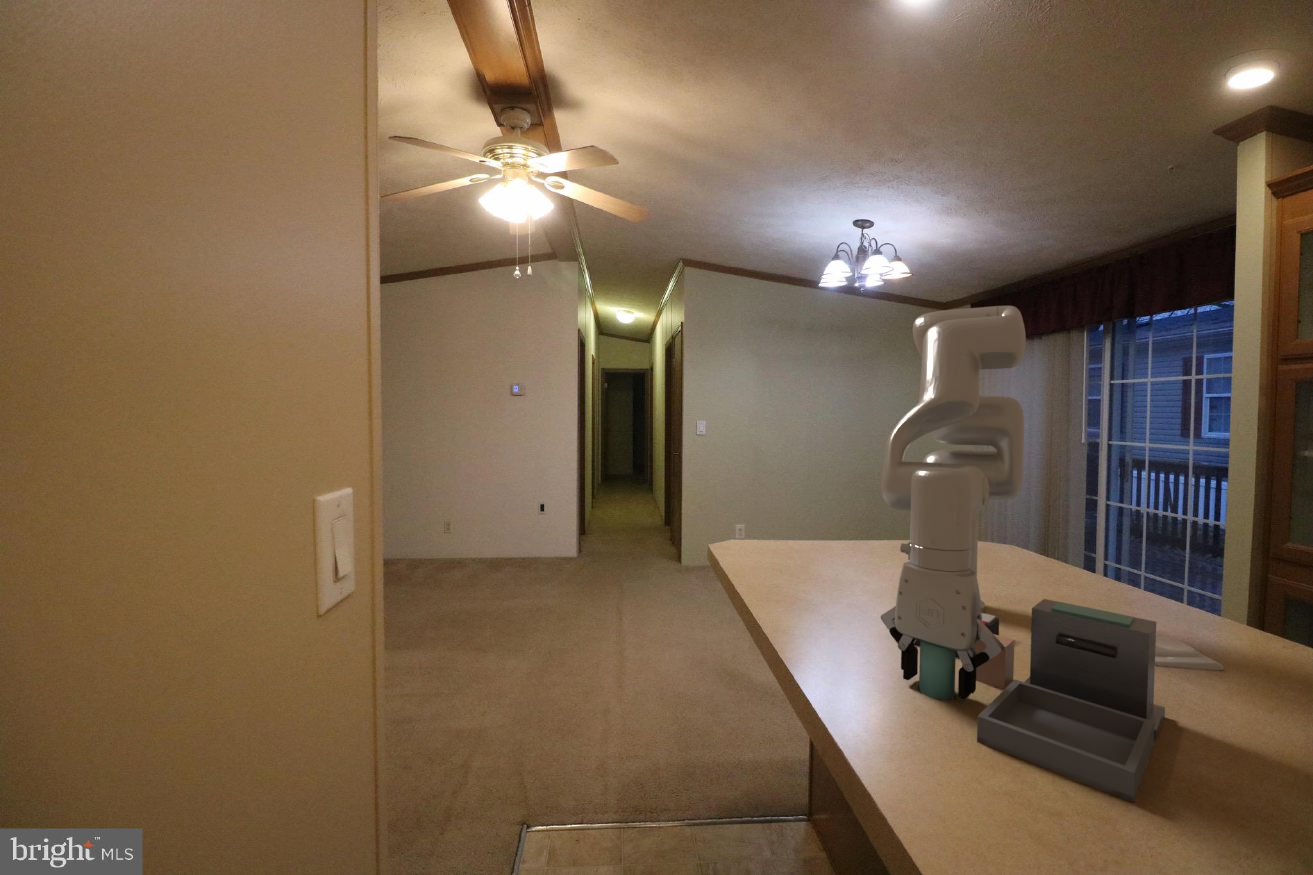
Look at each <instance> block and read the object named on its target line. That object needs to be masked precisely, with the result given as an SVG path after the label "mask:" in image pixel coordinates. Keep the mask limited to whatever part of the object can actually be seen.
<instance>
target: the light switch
mask: <svg viewBox="0 0 1313 875" xmlns="http://www.w3.org/2000/svg"><path fill="white" fill-rule="evenodd" d="M1155 665H1158V666H1157V667H1166V666H1167V667H1168V668H1179V667H1180V668H1179V669H1194V670H1204V669H1209V671H1211V670H1213V671H1224V665H1223V664H1222V663H1220V662H1218V661H1216V660H1214V659H1212V658H1210V657H1209V656H1206V655H1205V654H1203V653H1201V652H1199V651H1198V650H1196V649H1194V648H1193V647H1192V646H1189V645H1188V644H1185V643H1184V642H1181V641H1180V640H1178V639H1175V638H1174V637H1171V636H1169V635H1156V647H1155ZM1167 667H1166V668H1167Z"/></svg>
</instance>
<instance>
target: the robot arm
mask: <svg viewBox="0 0 1313 875" xmlns="http://www.w3.org/2000/svg"><path fill="white" fill-rule="evenodd" d="M912 336H913V340H914V343H915V346H916V349H917V351H918V353H919V355H920V357H921V372H920V386H919V399H918V402H917V404H915V406H914V407H912V408H911V409H910V410H908V411H907V412H906V413H905V414H904V415H903V417H901V418H900V419H899V421H898V422H897V424H896V425H895V426H894V427H893V428H892V430H891V431H890V434H889V436H888V438H887V440H886V443H885V448H884V456H883V465H882V474H881V476H882V477H881V492H882V493H881V494H882V498H883V501H884V502H885V503H886V505H887V506H889V507H891V508H892V509H895V510H899V511H906V512H907V511H908V512H910V520H909V521H910V523H909V524H910V527H909V528H910V530H909V533H910V535H909V541H908V542H907V543H903V542H902V543H901V544H900V546H899V547H900V550H899V551H900V553H904V554H906V555H907V560H908V561H906V562H904V563H903V564H902V567H901V571H900V576H899V580H898V581H899V582H898V585H897V586H898V587H897V593H896V602H895V606H893V607H892V608H890V609H889V610H887V611H886V612H884V613H883V614H881V615H880V620H881V621H882V623H883V625H884V626H885V628H886V629H887V630H888V631H889V634H890V636H891V637H892V638H893V639H894V641H895V642H896V644H897V648H898V649H899V650H900V651H901V652H900V656H901V657H900V669H901V670H902V671H903V672H902V676H903V677H902V678H903V680H906V681H909V680H912V679H913V678H914V677H915V676H917V675H918V666H919V665H918V662H919V661H918V660H919V649H918V646H916V645H915V644H914V643H915V641H916V640H917V639H918V640H921V641H925V642H928V643H931V644H935V645H938V646H942V647H945V648H949V649H953V650H957V653H958V655H959V658H958V659H959V660H960V662H961V664H962V665H961V667H960V668H959V669H958V682H957V685H958V686H957V688H958V689H957V697H958V698H959V699H960V700H963V701H965V700H966V699H967V698H968V697H970V695H971V694H974V693H975V692H976V689H977V680H976V668H977V667H979V666H981V665H982V664H984V663H986V662H987V661H989V660H990V659H992V658H993V657H995V656H996V655H998V654H999V653H1001V652H1002V651H1003V650H1004V645H1003V644H1002V643H1001V642H1000V641H999V640H998V639H997V638H996V637H995V636H994V634H993V633H992V632H991V631H990V630H989V629H988V628H987V627H986V626H985V625H984V624H983V623H982V613H984V612H985V610H986V604H985V602H984V601H983V600H982V599H981V594H980V588H979V581H978V550H979V549H978V546H979V544H978V543H979V522H978V519H977V515H976V514H977V513H980V511H981V510H982V509H983V507H984V506H986V505H987V503H988V501H989V500H991V501H1009V500H1010V501H1011V500H1014V499H1016V498H1018V496H1019V494H1020V493H1021V491H1022V486H1023V475H1024V474H1023V472H1024V447H1025V446H1024V443H1025V441H1024V440H1025V418H1024V417H1025V416H1024V410H1023V408H1022V405H1021V403H1020V402H1019V401H1018V400H1017V399H1016V398H1014V397H1011V396H1004V395H1003V396H1001V395H1000V396H998V395H997V396H996V395H995V396H994V395H993V396H990V395H989V396H981V394H980V370H1001V369H1003V370H1004V369H1012V368H1015V367H1017V366H1019V365H1020V364H1021V362H1022V361H1023V358H1024V355H1025V351H1026V345H1027V344H1026V343H1027V342H1026V341H1027V339H1026V338H1027V337H1026V328H1025V323H1024V319H1023V316H1022V313H1021V311H1020V310H1019V309H1018V308H1017V307H1016V306H1014V305H994V306H993V305H992V306H984V307H971V308H969V307H967V308H955V309H945V310H938V311H931V312H927V313H924V314H921V315H920V316H918V317H917V318H916V319H915V320H914V322H913V325H912ZM927 434H930V435H931V437H932V439H933V440H934V441H935V442H937V443H940V444H944V445H952V446H953V445H955V446H956V445H957V446H983V447H984V446H990V447H992V448H994V449H995V450H994V451H991V450H990V451H989V450H971V449H969V450H967V449H940V450H936V451H932V452H930V453H928V454H926V456H925V457H924V458H923V460H922V461H904V459H905V458H904V457H905V454H906V451H907V449H908V448H909V446H910V445H912V444H913V443H914V442H915V441H916V440H918V439H919V438H921V437H923V436H925V435H927ZM981 640H982V641H983V642H984V643H985V644H986V649H985V650H983V651H981V652H980V653H978V654H977V652H976V650H975V648H974V643H979V642H980V641H981Z"/></svg>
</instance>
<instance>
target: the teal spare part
mask: <svg viewBox="0 0 1313 875" xmlns="http://www.w3.org/2000/svg"><path fill="white" fill-rule="evenodd" d="M956 658H957V657H956V650H953V649H949V648H945V647H942V646H938V645H935V644H931V643H928V642H925V641H921V640H920V646H919V677H918V678H919V679H918V690H919V691H920V692H921V693H922V694H923V695H924V696H927V697H928V698H932V699H934V700H935V699H936V700H942V701H949V700H952V699H954V698H955V694H956V693H955V692H956Z"/></svg>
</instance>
